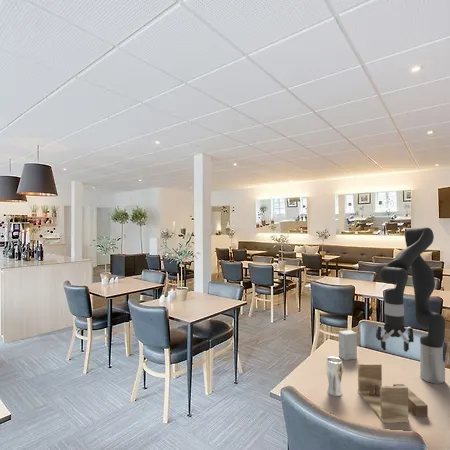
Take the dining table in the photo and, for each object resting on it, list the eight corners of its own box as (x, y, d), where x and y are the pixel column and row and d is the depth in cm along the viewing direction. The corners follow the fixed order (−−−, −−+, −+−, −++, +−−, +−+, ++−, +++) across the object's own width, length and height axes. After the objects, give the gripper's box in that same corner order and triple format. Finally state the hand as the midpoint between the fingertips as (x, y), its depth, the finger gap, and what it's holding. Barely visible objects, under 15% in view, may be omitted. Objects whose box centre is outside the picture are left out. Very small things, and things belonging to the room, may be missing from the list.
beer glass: (329, 387, 142) (329, 355, 142) (345, 392, 138) (344, 359, 138) (324, 393, 137) (324, 360, 137) (339, 399, 132) (339, 364, 132)
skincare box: (350, 354, 177) (350, 329, 177) (357, 359, 171) (357, 332, 171) (338, 356, 175) (338, 330, 175) (344, 360, 169) (344, 334, 169)
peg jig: (357, 391, 138) (357, 362, 138) (379, 391, 138) (379, 362, 138) (383, 422, 116) (383, 389, 116) (409, 422, 116) (408, 388, 116)
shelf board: (393, 395, 135) (393, 384, 135) (403, 395, 135) (403, 384, 135) (416, 418, 119) (416, 405, 119) (427, 417, 119) (427, 405, 119)
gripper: (408, 311, 134) (409, 348, 134) (374, 309, 137) (374, 345, 137) (415, 316, 126) (416, 355, 126) (378, 314, 129) (379, 352, 129)
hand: (394, 350), depth 131 cm, fingers open, 8 cm apart
